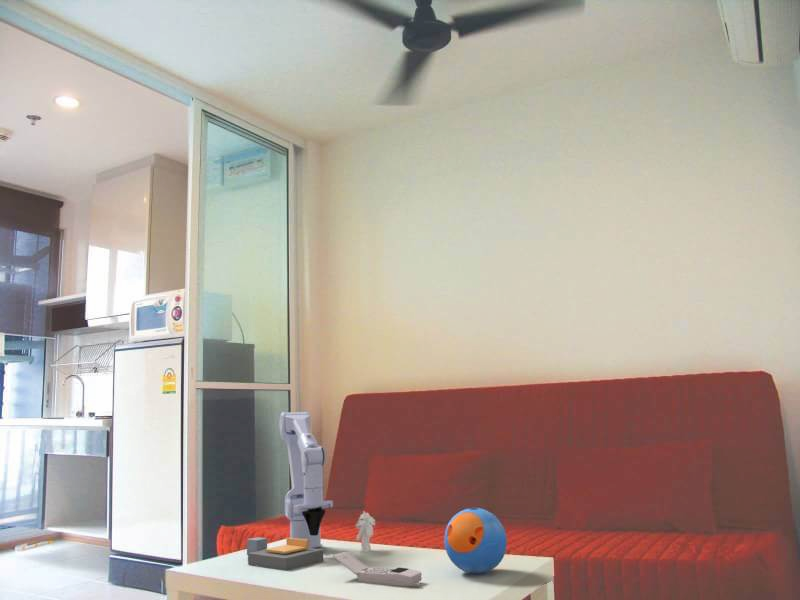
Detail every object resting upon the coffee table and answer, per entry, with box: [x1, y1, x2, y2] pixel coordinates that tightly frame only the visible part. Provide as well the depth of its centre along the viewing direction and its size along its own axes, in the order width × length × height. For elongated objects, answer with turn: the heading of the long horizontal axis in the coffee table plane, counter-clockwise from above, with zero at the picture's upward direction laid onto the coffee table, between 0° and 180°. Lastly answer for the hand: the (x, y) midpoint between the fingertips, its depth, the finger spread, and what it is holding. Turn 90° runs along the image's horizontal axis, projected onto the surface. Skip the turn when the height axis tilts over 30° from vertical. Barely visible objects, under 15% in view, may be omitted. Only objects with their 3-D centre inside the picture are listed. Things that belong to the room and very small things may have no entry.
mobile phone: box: [332, 550, 423, 588], centre depth 155 cm, size 6×6×25 cm
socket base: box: [247, 548, 324, 571], centre depth 181 cm, size 14×16×3 cm
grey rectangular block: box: [246, 537, 268, 556], centre depth 191 cm, size 4×4×5 cm
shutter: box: [265, 537, 309, 554], centre depth 182 cm, size 9×8×2 cm
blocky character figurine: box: [355, 510, 376, 553], centre depth 195 cm, size 9×4×12 cm, turn 152°
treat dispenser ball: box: [443, 507, 508, 575], centre depth 160 cm, size 16×15×15 cm
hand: (313, 535), depth 191 cm, fingers closed
